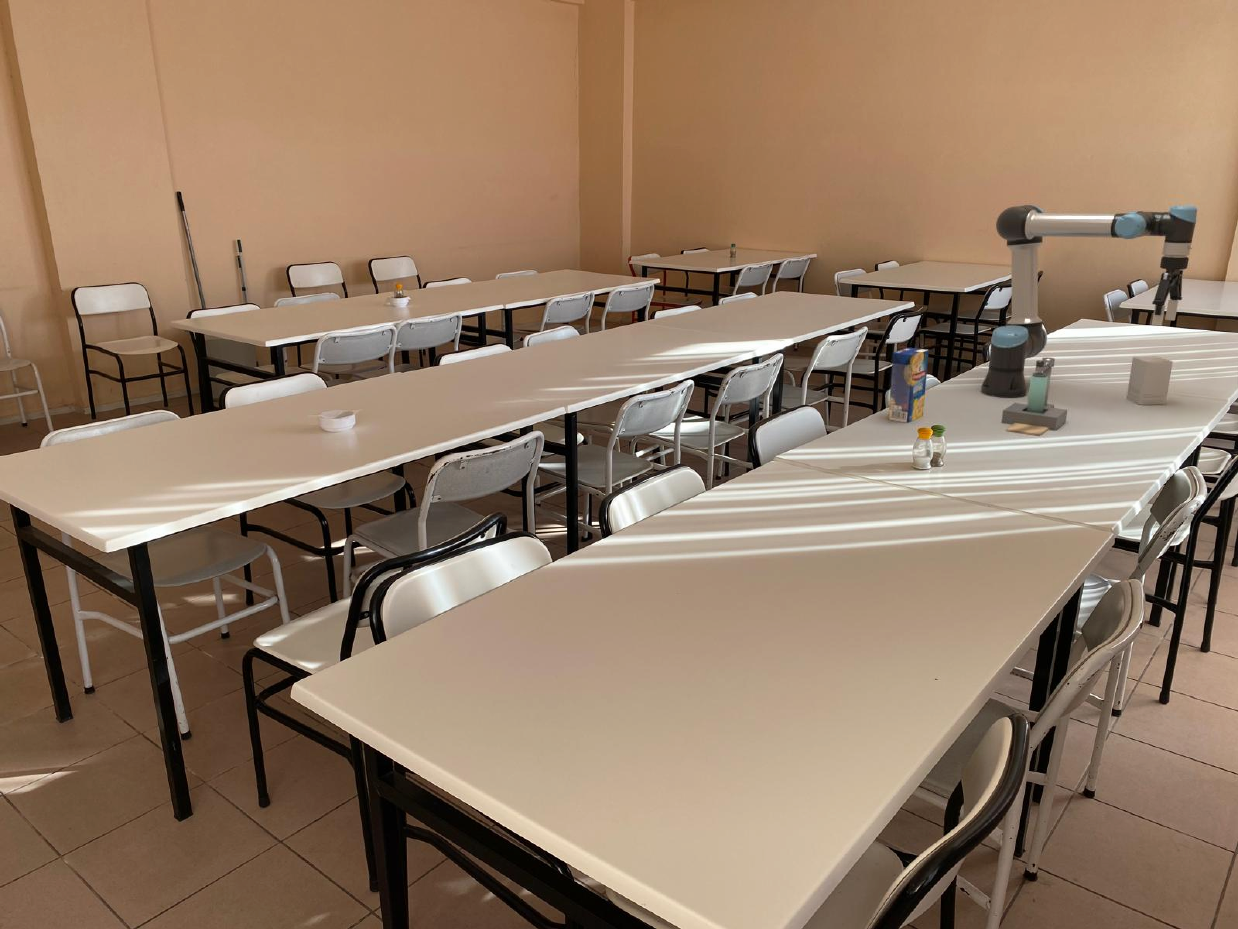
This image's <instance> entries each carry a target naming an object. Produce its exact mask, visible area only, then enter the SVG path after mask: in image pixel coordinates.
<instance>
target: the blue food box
mask: <svg viewBox="0 0 1238 929" xmlns="http://www.w3.org/2000/svg"><path fill="white" fill-rule="evenodd" d="M928 361H929V349H923V348H916V347H915V348H913V347H907V348H904V349H901V350H897V351H895V352H894V351H893V352H892V364H891V376H890V378H891V379H890V393H889V403H888V404H889V405H888V417H887V418H888V420H889V421H895V422H902V423H910V422H913V421H915V420H918V419H920V418H922V417H923V416H924V410H925V408H924V407H925V398H926V396H925V395H926V384H927V372H928Z"/></svg>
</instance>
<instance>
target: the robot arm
mask: <svg viewBox="0 0 1238 929" xmlns="http://www.w3.org/2000/svg"><path fill="white" fill-rule="evenodd" d="M1197 213H1198V208H1197V207H1196V206H1194V205H1173V206H1171V207H1170V208H1169V211H1163V212H1162V211H1143V210H1137V211H1130V212H1129V213H1125V212H1124V213H1121V212H1120V213H1100V212H1099V213H1097V212H1096V213H1095V212H1094V213H1091V212H1090V213H1089V212H1088V213H1087V212H1085V213H1081V212H1078V213H1077V212H1074V213H1073V212H1072V213H1070V212H1069V213H1068V212H1065V213H1064V212H1061V213H1060V212H1054V213H1053V212H1051V213H1050V212H1048V213H1047V212H1045V211H1044V209H1042V208H1041V207H1038V206H1037V205H1032V204H1029V205H1028V204H1024V205H1017V206H1016V205H1015V206H1011V207H1007V208H1006V209H1004V210H1003V211H1001V213H1000V214H999V215H998V216H997V220H996V222H995V223H996V224H995V228H996V229H995V230H996V232H997V234H998V235H999V237H1001V238H1002V239H1004V240H1006V247H1007V248H1008V249H1009V250H1010V252H1011V253H1010V254H1011V259H1010V260H1011V263H1010V264H1011V318H1010V319H1009V320H1008V321H1007V324H1006V325H1005V326H1004V325H1003V326H999V327H997V328H995V329H994V330H993V331H992V336H991V339H990V352H989V362H988V370H987V373H986V375H985V377H984V380H983V382H982V384H981V387H980V393H982V394H984V395H988V396H991V397H999V398H1020V397H1021V398H1022V397H1025V396H1026V395H1027V391H1028V386H1027V382H1026V378H1025V373H1024V372H1025V371H1024V370H1025V362H1026V360H1027V359H1030V358H1034V357H1036V356H1037V355H1039V354H1040V353H1041V352H1042V351H1043V350H1044V349H1045V348H1046V346H1047V342H1048V335H1047V332H1046V330H1045V329H1044V328H1043V319H1042V318H1040V317H1039V316H1038V313H1039V311H1038V310H1039V309H1038V308H1039V305H1038V303H1039V301H1038V300H1039V299H1038V298H1039V294H1038V292H1039V291H1038V290H1039V286H1038V284H1039V283H1038V281H1039V280H1038V279H1039V277H1038V276H1039V275H1038V274H1039V273H1038V271H1039V270H1038V268H1039V266H1038V265H1039V264H1038V262H1039V261H1038V260H1039V259H1038V257H1039V256H1038V254H1039V253H1038V252H1039V247H1040V246H1041V245H1042V244H1043V238H1044V237H1053V238H1054V237H1061V238H1062V237H1063V238H1064V237H1065V238H1066V237H1067V238H1107V239H1108V238H1110V239H1111V238H1112V239H1113V238H1115V239H1116V238H1117V239H1124V240H1133V239H1137V238H1141V237H1164V243H1163V247H1162V251H1161V254H1162V255H1163V256H1162V257H1160V258H1161V260H1160V264H1159V268H1161V269H1162V270H1165V272H1162V273H1161V275H1160V280H1159V283H1158V287H1157V290H1156V293H1155V296H1154V298H1153V301H1152V303H1151V304H1152V305H1154V310H1153V316H1152V321H1151V325H1152V326H1163V320H1164V315H1165V321H1175V320H1176V315H1177V311H1178V310H1177V309H1178V306H1179V301H1182V299H1183V296H1182V291H1183V290H1182V288H1183V273H1184V270H1186V269H1187V268H1188V265H1189V260H1190V259H1189V258H1190V257H1189V256H1190V253H1191V250H1193V249H1194V248H1193V245H1192V243H1193V236H1194V232H1195V227H1196V223H1197V216H1198V214H1197ZM1168 296H1169V299H1168V302H1167V307H1166V301H1167V298H1168ZM1165 310H1166V312H1165Z"/></svg>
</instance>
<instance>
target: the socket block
mask: <svg viewBox="0 0 1238 929" xmlns="http://www.w3.org/2000/svg"><path fill="white" fill-rule="evenodd" d="M1052 369H1053V367H1049V368H1047V369H1046V370H1044V371H1042V373H1046V374H1047V376H1048V379H1047V387H1046V395H1045V403H1044V411H1043V414H1042V413H1034V412H1027V404H1028V403H1027V404H1025V403H1019V402H1013V403H1012V404H1011V405H1009V406H1008V407H1006V408H1005V409H1003V410H1002V417H1001V423H1002V424H1008V425H1012V424H1014V423H1021V424H1028V425H1035V426H1042V427H1049V429H1050V431H1051V430H1052V431H1056V430H1058V429H1059V428H1060V427H1061V426H1062V425H1064V424H1065V423H1066V422H1067V415H1068V409H1064V408H1056V407H1055V404H1053V403H1051V404H1050V403H1048V400H1049V392H1050V391H1049V390H1050V384H1051V376H1052ZM1049 429H1048V430H1049Z"/></svg>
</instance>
